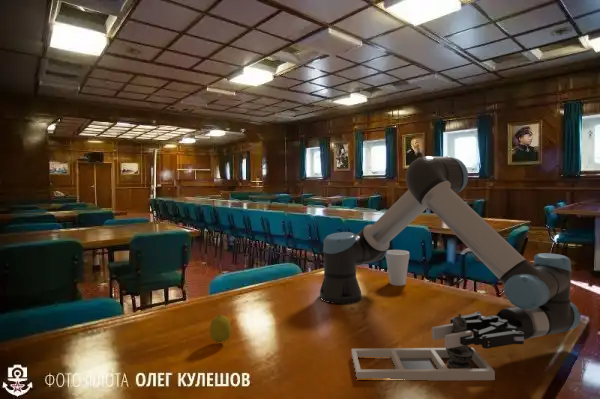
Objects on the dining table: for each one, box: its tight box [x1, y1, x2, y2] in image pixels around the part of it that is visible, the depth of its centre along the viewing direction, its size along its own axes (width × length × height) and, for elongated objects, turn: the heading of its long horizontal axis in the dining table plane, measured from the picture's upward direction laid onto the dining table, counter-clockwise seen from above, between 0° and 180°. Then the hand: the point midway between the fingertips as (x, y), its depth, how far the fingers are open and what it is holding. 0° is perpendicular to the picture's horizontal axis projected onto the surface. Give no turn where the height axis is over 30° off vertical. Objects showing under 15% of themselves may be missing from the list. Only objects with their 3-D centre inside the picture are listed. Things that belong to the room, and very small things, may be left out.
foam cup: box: [385, 249, 410, 287], centre depth 144 cm, size 10×9×13 cm
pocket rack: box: [350, 347, 496, 381], centre depth 80 cm, size 29×10×2 cm, turn 88°
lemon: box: [209, 314, 232, 343], centre depth 95 cm, size 6×6×8 cm
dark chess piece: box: [445, 313, 474, 369], centre depth 80 cm, size 6×6×12 cm
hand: (439, 337), depth 78 cm, fingers closed on dark chess piece, 4 cm apart
